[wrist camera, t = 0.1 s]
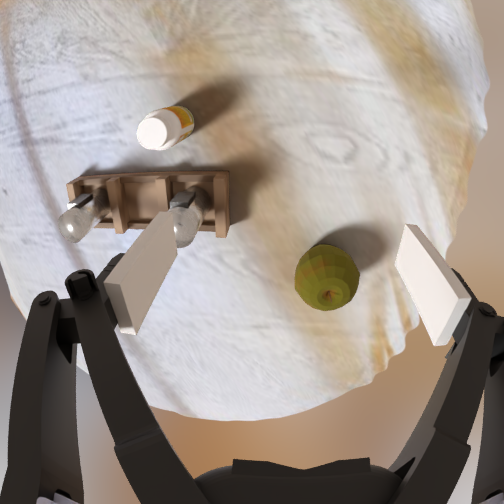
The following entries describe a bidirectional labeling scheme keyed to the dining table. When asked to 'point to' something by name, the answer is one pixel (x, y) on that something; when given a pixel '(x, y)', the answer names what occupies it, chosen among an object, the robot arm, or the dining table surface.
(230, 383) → the dining table surface
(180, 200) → the shiny gray cylinder
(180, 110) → the supplement bottle
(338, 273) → the apple
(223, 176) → the wooden spice rack
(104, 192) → the glass spice jar
